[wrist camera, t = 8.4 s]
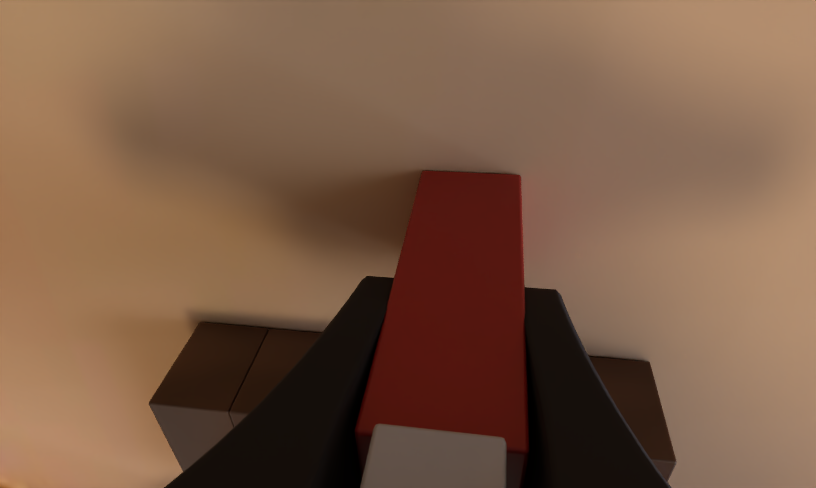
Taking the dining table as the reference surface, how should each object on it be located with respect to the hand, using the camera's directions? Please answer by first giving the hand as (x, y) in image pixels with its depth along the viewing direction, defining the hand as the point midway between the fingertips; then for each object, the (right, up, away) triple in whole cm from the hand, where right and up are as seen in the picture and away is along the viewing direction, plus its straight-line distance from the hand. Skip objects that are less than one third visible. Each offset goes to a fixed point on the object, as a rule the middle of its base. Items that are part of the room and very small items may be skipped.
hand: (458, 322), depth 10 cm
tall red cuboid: (0, +2, +3) cm, 3 cm away
